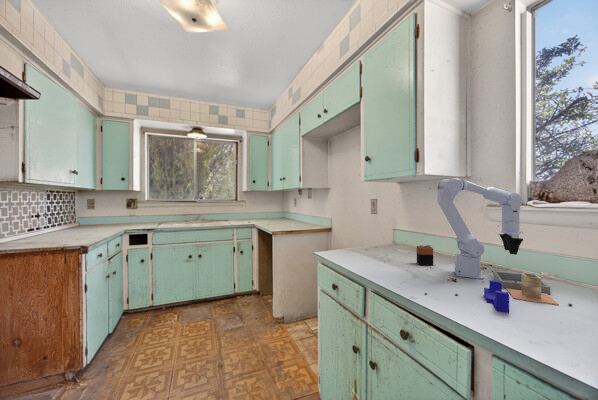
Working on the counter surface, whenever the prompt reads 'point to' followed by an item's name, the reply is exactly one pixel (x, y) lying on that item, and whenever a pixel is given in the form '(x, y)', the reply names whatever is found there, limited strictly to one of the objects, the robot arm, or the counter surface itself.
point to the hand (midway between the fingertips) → (510, 252)
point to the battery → (425, 255)
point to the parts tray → (514, 285)
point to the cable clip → (497, 296)
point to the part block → (531, 285)
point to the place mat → (544, 298)
